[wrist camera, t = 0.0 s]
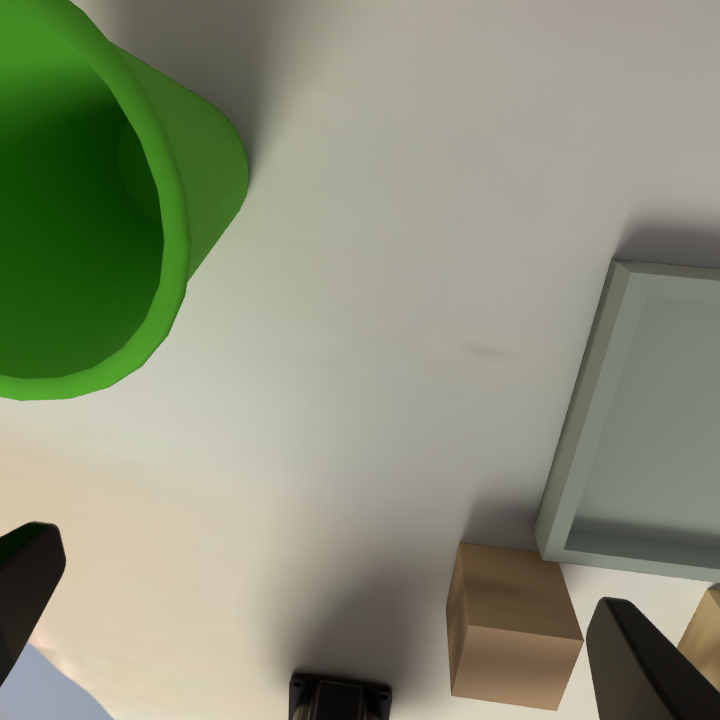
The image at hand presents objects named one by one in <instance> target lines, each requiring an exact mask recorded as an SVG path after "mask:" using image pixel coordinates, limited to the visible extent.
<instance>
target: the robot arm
mask: <svg viewBox="0 0 720 720" xmlns="http://www.w3.org/2000/svg"><path fill="white" fill-rule="evenodd" d="M65 566H66V556H65V552H64V547H63V543H62V539H61V535H60V530H59V528H58V527H57V526H56V525H55V524H52V523H44V522H36V521H34V522H29V523H26V524H24V525H22V526H20V527H19V528H17V529H15V530H13V531H11V532H9V533H7V534H5V535H3V536H1V537H0V687H1V685H2V684H3V682H4V680H5V679H6V678H7V676H8V674H9V673H10V671H11V670H12V668H13V666H14V665H15V663H16V661H17V659H18V657H19V656H20V654H21V652H22V651H23V649H24V646H25V645H26V643H27V641H28V639H29V637H30V636H31V634H32V632H33V630H34V628H35V626H36V624H37V622H38V620H39V618H40V617H41V615H42V613H43V611H44V609H45V607H46V605H47V603H48V601H49V600H50V598H51V596H52V594H53V592H54V590H55V588H56V586H57V584H58V583H59V581H60V579H61V577H62V575H63V573H64V570H65ZM586 646H587V652H588V657H589V663H590V669H591V674H592V680H593V685H594V691H595V696H596V702H597V708H598V713H599V719H600V720H720V692H719V691H718V690H717V689H716V688H715V687H714V686H713V685H712V684H711V683H710V682H709V681H708V680H707V679H706V678H705V677H704V676H703V675H702V674H701V673H700V672H699V671H698V670H697V669H696V668H695V666H694V665H693V664H692V663H691V662H690V661H689V660H688V659H687V658H686V657H685V656H684V655H683V654H682V653H681V652H680V651H679V650H678V649H677V648H676V647H675V646H674V645H673V644H672V643H671V642H670V641H669V640H668V639H667V638H666V637H665V636H664V635H663V634H662V633H661V632H660V631H659V630H658V629H657V628H656V627H655V626H654V625H653V624H652V623H651V622H650V621H649V620H648V619H647V617H646V616H645V615H644V614H643V613H642V612H641V611H640V610H639V609H638V608H637V607H636V606H635V605H634V604H633V603H631V602H630V601H628V600H625V599H618V598H611V597H603V598H601V599H600V600H599V602H598V604H597V606H596V609H595V611H594V614H593V616H592V619H591V621H590V624H589V627H588V629H587V634H586ZM391 702H392V689H391V688H390V687H388V686H383V685H376V684H369V683H362V682H356V681H349V680H342V679H335V678H328V677H321V676H314V675H307V674H301V673H295V674H293V675H291V679H290V683H289V720H389V714H390V708H391Z"/></svg>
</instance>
